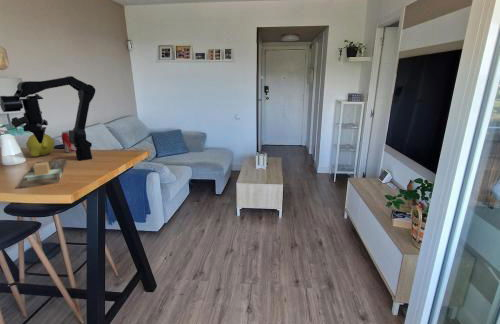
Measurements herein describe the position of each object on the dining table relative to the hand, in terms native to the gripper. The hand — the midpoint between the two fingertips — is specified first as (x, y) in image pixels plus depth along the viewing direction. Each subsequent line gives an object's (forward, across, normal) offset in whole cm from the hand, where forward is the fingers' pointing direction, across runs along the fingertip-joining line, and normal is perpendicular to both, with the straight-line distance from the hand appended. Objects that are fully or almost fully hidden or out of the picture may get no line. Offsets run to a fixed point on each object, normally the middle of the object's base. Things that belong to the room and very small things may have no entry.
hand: (40, 143), depth 130 cm
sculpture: (+12, -30, -6) cm, 33 cm away
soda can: (+12, -30, +8) cm, 33 cm away
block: (+10, +19, +2) cm, 22 cm away
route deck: (+12, +13, +2) cm, 18 cm away
